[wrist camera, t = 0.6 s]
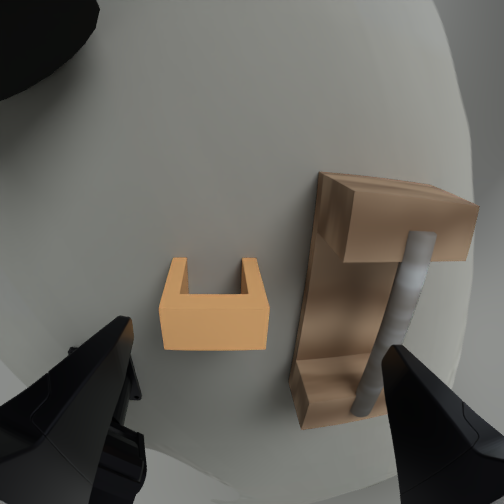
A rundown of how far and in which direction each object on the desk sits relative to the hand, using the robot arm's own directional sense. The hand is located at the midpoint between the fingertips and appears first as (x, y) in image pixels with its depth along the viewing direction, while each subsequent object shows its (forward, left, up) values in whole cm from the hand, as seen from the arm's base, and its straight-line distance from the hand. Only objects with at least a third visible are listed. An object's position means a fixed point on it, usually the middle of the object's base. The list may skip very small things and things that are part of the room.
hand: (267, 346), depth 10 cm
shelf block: (-6, -10, -13) cm, 17 cm away
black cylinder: (+27, +21, -13) cm, 36 cm away
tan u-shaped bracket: (-4, +2, -13) cm, 13 cm away
